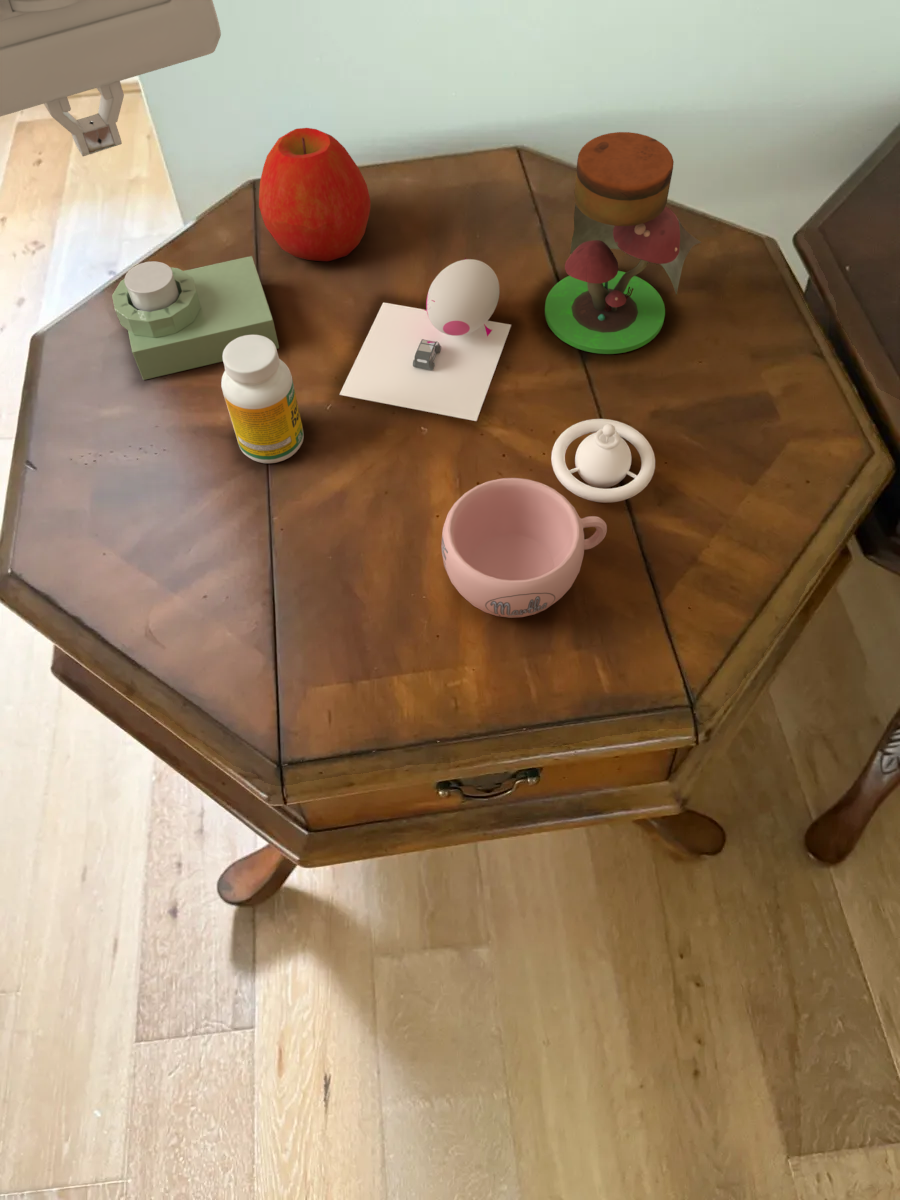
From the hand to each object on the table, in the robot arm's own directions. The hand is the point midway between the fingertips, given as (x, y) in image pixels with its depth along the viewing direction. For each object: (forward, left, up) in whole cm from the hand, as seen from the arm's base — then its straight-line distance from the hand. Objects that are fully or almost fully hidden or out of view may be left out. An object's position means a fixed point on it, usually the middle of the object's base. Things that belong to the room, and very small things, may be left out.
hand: (99, 146), depth 69 cm
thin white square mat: (+21, -8, -20) cm, 30 cm away
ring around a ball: (+30, -25, -20) cm, 44 cm away
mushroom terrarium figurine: (+38, -8, -20) cm, 44 cm away
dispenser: (+3, +2, -19) cm, 20 cm away
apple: (+16, +11, -20) cm, 28 cm away
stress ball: (+25, -5, -19) cm, 32 cm away
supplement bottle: (+6, -13, -20) cm, 24 cm away
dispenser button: (0, +2, -15) cm, 15 cm away
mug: (+21, -32, -20) cm, 43 cm away
